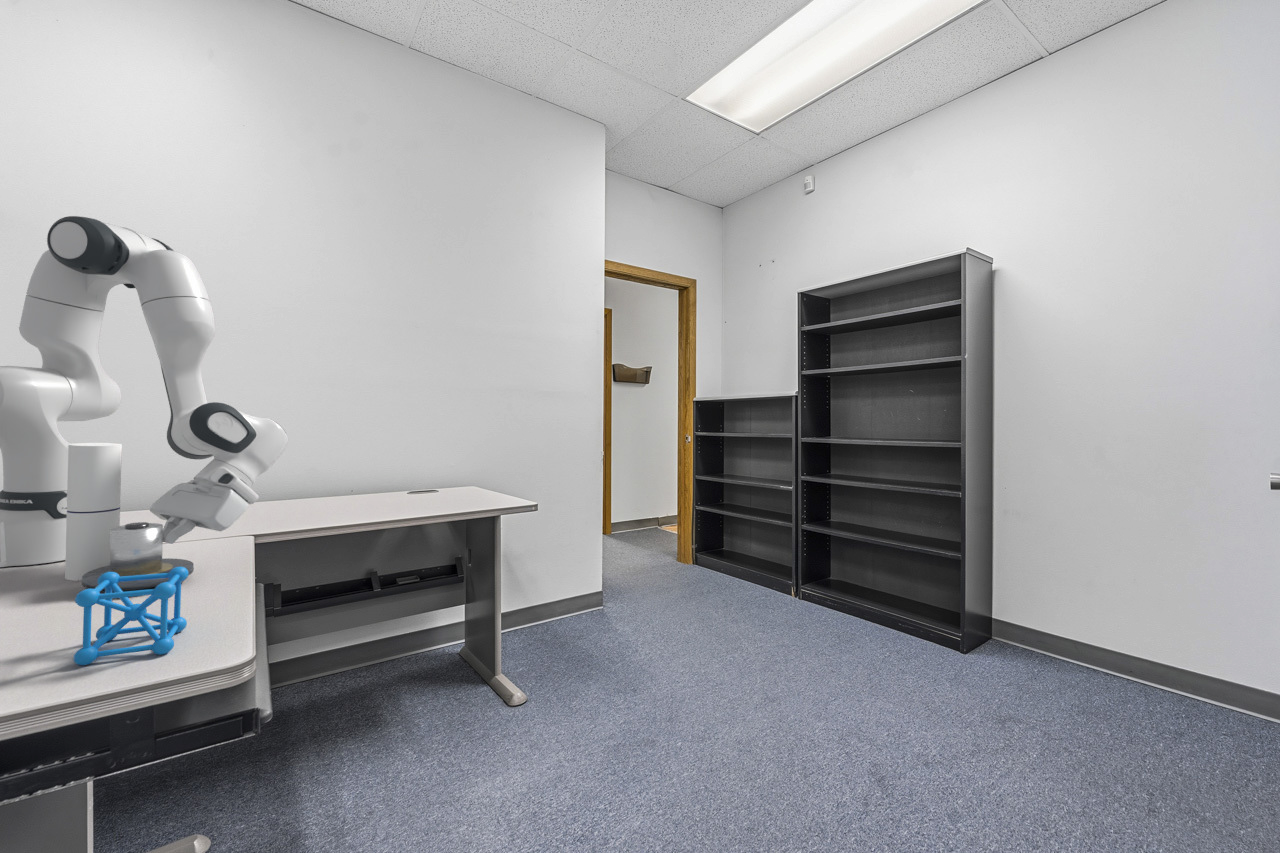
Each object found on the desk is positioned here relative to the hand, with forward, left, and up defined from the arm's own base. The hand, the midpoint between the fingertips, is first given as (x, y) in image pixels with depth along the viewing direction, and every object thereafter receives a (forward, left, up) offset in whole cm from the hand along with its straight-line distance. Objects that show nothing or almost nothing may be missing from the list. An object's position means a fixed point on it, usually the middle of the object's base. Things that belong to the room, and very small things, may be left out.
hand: (163, 541), depth 102 cm
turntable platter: (-1, -3, -6) cm, 7 cm away
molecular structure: (+23, -24, -8) cm, 34 cm away
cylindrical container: (-14, -1, -8) cm, 16 cm away
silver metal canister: (-1, -4, -5) cm, 6 cm away
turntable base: (-1, -3, -7) cm, 8 cm away
